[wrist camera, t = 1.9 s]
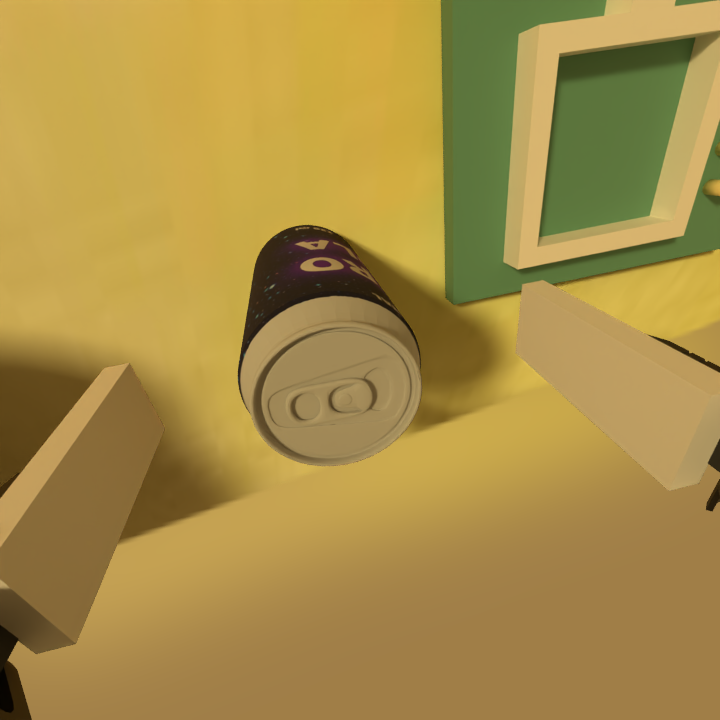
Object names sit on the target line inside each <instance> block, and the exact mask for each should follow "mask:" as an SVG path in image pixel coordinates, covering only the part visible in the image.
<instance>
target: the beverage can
mask: <svg viewBox="0 0 720 720" xmlns="http://www.w3.org/2000/svg"><path fill="white" fill-rule="evenodd" d="M420 367H421V359H420V351H419V346H418V343H417V340H416V337H415V335H414V333H413V331H412V329H411V328H410V326H409V325H408V323H407V322H406V321H405V319H404V318H403V317H402V315H401V314H400V312H399V311H398V310H397V308H396V307H395V306H394V304H393V303H392V302H391V300H390V299H389V298H388V296H387V295H386V294H385V292H384V291H383V290H382V288H381V287H380V286H379V284H378V283H377V281H376V280H375V279H374V277H373V276H372V275H371V273H370V272H369V271H368V269H367V268H366V267H365V265H364V264H363V263H362V261H361V260H360V259H359V257H358V256H357V254H356V253H355V252H354V250H353V249H352V248H351V246H350V245H349V244H348V243H347V242H346V241H345V240H344V239H343V238H342V237H341V236H339V235H338V234H336V233H335V232H333V231H331V230H328V229H326V228H323V227H319V226H313V225H301V226H295V227H291V228H288V229H286V230H284V231H282V232H280V233H278V234H277V235H275V236H274V237H273V238H271V239H270V240H269V241H268V242H267V243H266V244H265V246H264V247H263V248H262V250H261V252H260V254H259V256H258V258H257V261H256V264H255V268H254V274H253V280H252V287H251V293H250V299H249V305H248V311H247V317H246V323H245V330H244V336H243V342H242V348H241V354H240V360H239V367H238V385H239V390H240V394H241V397H242V400H243V402H244V404H245V406H246V408H247V410H248V411H249V413H250V414H251V417H252V420H253V423H254V425H255V428H256V429H257V431H258V433H259V434H260V436H261V437H262V438H263V440H264V441H265V442H266V443H267V444H268V445H269V446H270V447H271V448H273V449H274V450H275V451H276V452H278V453H280V454H281V455H283V456H285V457H287V458H289V459H292V460H294V461H297V462H300V463H304V464H309V465H316V466H338V465H345V464H350V463H354V462H358V461H361V460H363V459H366V458H368V457H371V456H373V455H374V454H377V453H379V452H380V451H382V450H383V449H385V448H386V447H388V446H389V445H391V444H392V443H393V442H394V441H395V440H397V439H398V438H399V437H400V436H401V435H402V433H403V432H404V431H405V430H406V429H407V428H408V426H409V425H410V423H411V422H412V420H413V418H414V416H415V414H416V412H417V410H418V407H419V404H420V400H421V393H422V379H421V373H420Z"/></svg>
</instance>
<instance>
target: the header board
mask: <svg viewBox="0 0 720 720" xmlns="http://www.w3.org/2000/svg"><path fill="white" fill-rule="evenodd" d="M441 25H442V92H443V158H444V224H445V291H446V298H447V299H448V300H449V301H450V302H451V303H452V304H453V305H455V304H460V303H464V302H469V301H474V300H479V299H483V298H488V297H493V296H498V295H502V294H507V293H512V292H517V291H521V290H522V284H526V283H531V282H536V281H541V280H544V281H546V282H548V283H550V284H555V283H559V282H564V281H569V280H574V279H578V278H583V277H588V276H593V275H597V274H602V273H607V272H612V271H617V270H621V269H626V268H631V267H636V266H640V265H645V264H650V263H655V262H659V261H664V260H669V259H674V258H678V257H683V256H688V255H693V254H697V253H702V252H707V251H712V250H716V249H720V0H441Z"/></svg>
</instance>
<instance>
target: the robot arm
mask: <svg viewBox="0 0 720 720" xmlns="http://www.w3.org/2000/svg"><path fill="white" fill-rule="evenodd" d="M516 354H517V355H518V356H519V357H521V358H522V359H523V360H524V361H525V362H526V363H527V364H528V365H529V366H531V367H532V368H533V369H534V370H535V371H536V372H537V373H538V374H539V375H541V376H542V377H543V378H544V379H545V380H546V381H547V382H548V383H549V384H551V385H552V386H553V387H554V388H555V389H556V390H557V391H558V392H559V393H561V394H562V395H563V396H564V397H565V398H566V399H567V400H569V402H571V403H572V404H573V405H574V406H575V407H576V408H577V409H578V410H579V411H581V412H582V413H583V414H584V415H585V416H586V417H587V418H588V419H590V420H591V421H592V422H593V423H594V424H595V425H596V426H597V427H598V428H599V429H600V430H602V431H603V432H604V433H605V434H606V435H607V436H608V437H609V438H610V439H612V440H613V441H614V442H615V443H616V444H617V445H618V446H619V447H620V448H622V449H623V450H624V451H625V452H626V453H627V454H628V455H629V456H631V457H632V458H633V459H634V460H635V461H636V462H637V463H639V465H640V466H642V467H643V468H644V469H645V470H646V471H647V472H648V473H649V474H651V475H652V476H653V477H654V478H655V479H656V480H657V481H658V482H659V483H660V484H661V485H663V486H664V487H665V488H666V489H667V490H668V491H671V490H675V489H679V488H683V487H687V486H691V485H695V484H699V482H700V480H701V478H702V476H703V474H704V472H705V470H706V468H707V466H708V464H710V465H711V466H712V467H713V468H715V469H716V470H717V471H719V472H720V367H719V366H717V365H715V364H713V363H711V362H709V361H708V362H706V361H705V359H704V358H701V357H700V356H698V355H695V354H694V353H689V351H688V350H686V349H684V348H682V347H680V346H678V345H676V344H674V343H672V342H670V341H667V340H664V339H660V338H657V337H654V336H650V335H647V334H645V333H643V332H641V331H639V330H637V329H635V328H633V327H631V326H629V325H628V324H626V323H624V322H622V321H620V320H618V319H616V318H614V317H612V316H610V315H609V314H607V313H605V312H603V311H601V310H599V309H597V308H595V307H593V306H591V305H589V304H588V303H586V302H584V301H582V300H580V299H578V298H576V297H574V296H572V295H570V294H569V293H567V292H565V291H563V290H561V289H559V288H557V287H555V286H553V285H551V284H550V283H548V282H546V281H544V280H541V281H536V282H531V283H526V284H522V292H521V302H520V313H519V323H518V333H517V344H516ZM164 430H165V428H164V426H163V424H162V422H161V420H160V418H159V417H158V415H157V413H156V411H155V409H154V407H153V405H152V404H151V402H150V400H149V398H148V396H147V394H146V392H145V391H144V389H143V387H142V385H141V383H140V381H139V379H138V378H137V376H136V374H135V372H134V370H133V368H132V366H131V365H130V363H126V364H121V365H116V366H111V367H106V368H104V369H103V370H102V371H101V373H100V374H99V375H98V376H97V378H96V379H95V380H94V382H93V383H92V384H91V385H90V387H89V388H88V389H87V390H86V392H85V393H84V394H83V395H82V397H81V398H80V399H79V400H78V402H77V403H76V404H75V405H74V407H73V408H72V409H71V410H70V412H69V413H68V414H67V415H66V417H65V418H64V419H63V420H62V422H61V423H60V424H59V425H58V427H57V428H56V429H55V430H54V432H53V433H52V434H51V436H50V437H49V438H48V439H47V441H46V442H45V443H44V444H43V446H42V447H41V448H40V449H39V451H38V452H37V453H36V454H35V456H34V457H33V458H32V459H31V461H30V462H29V463H28V464H27V466H26V467H25V468H24V469H23V471H22V472H21V473H18V474H16V475H15V476H14V477H13V478H12V479H10V480H9V481H8V482H7V483H6V484H4V485H3V486H2V487H1V488H0V720H32V719H31V715H30V713H29V709H28V705H27V702H26V699H25V695H24V692H23V688H22V685H21V681H20V678H19V674H18V671H17V669H16V668H15V667H14V666H13V665H12V664H11V663H10V662H9V661H7V660H8V658H9V656H10V654H11V652H12V650H13V649H14V646H15V645H16V643H17V641H20V642H21V643H22V644H23V645H25V646H26V647H27V648H29V649H30V650H31V651H33V652H34V653H35V654H38V653H42V652H46V651H50V650H54V649H58V648H61V647H66V646H69V645H73V644H76V643H77V640H78V638H79V635H80V633H81V630H82V628H83V626H84V623H85V621H86V618H87V616H88V613H89V611H90V609H91V606H92V604H93V601H94V599H95V597H96V594H97V592H98V589H99V587H100V585H101V582H102V580H103V577H104V575H105V572H106V570H107V568H108V565H109V562H110V560H111V558H112V555H113V553H114V551H115V548H116V546H117V543H118V541H119V539H120V536H121V534H122V531H123V529H124V527H125V524H126V522H127V519H128V517H129V514H130V512H131V510H132V507H133V505H134V502H135V500H136V498H137V495H138V493H139V490H140V488H141V485H142V483H143V481H144V478H145V476H146V473H147V471H148V469H149V466H150V464H151V461H152V459H153V456H154V454H155V452H156V449H157V447H158V444H159V442H160V440H161V437H162V435H163V432H164ZM718 502H720V479H719V481H718V483H717V485H716V487H715V489H714V490H713V493H712V494H711V496H710V498H709V500H708V502H707V506H706V510H709V511H713V509H714V507H715V506H716V504H717V503H718Z"/></svg>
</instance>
